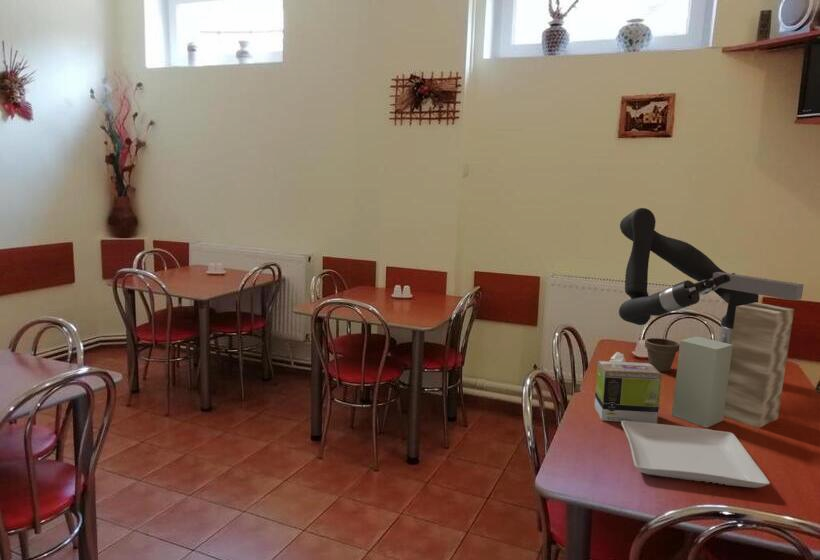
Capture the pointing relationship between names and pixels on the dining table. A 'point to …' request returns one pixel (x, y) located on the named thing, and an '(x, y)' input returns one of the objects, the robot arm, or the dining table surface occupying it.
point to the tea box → (627, 391)
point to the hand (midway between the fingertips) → (731, 276)
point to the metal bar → (762, 286)
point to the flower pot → (661, 352)
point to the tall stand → (758, 363)
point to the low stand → (702, 380)
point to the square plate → (692, 454)
